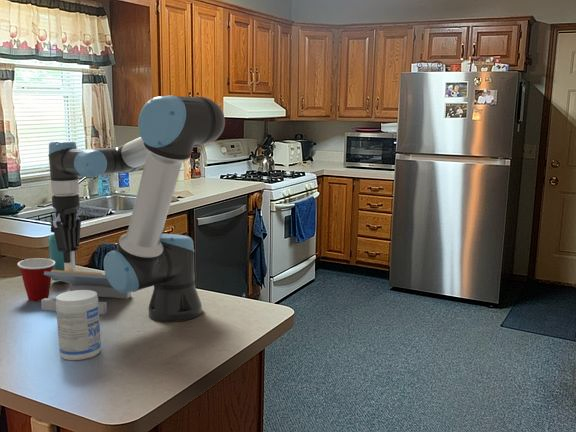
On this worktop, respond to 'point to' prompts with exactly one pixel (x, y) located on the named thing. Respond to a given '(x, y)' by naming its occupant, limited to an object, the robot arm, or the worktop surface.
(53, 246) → the beverage bottle
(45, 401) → the worktop surface
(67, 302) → the supplement tub
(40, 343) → the worktop surface
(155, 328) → the worktop surface
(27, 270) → the plastic cup
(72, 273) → the door
